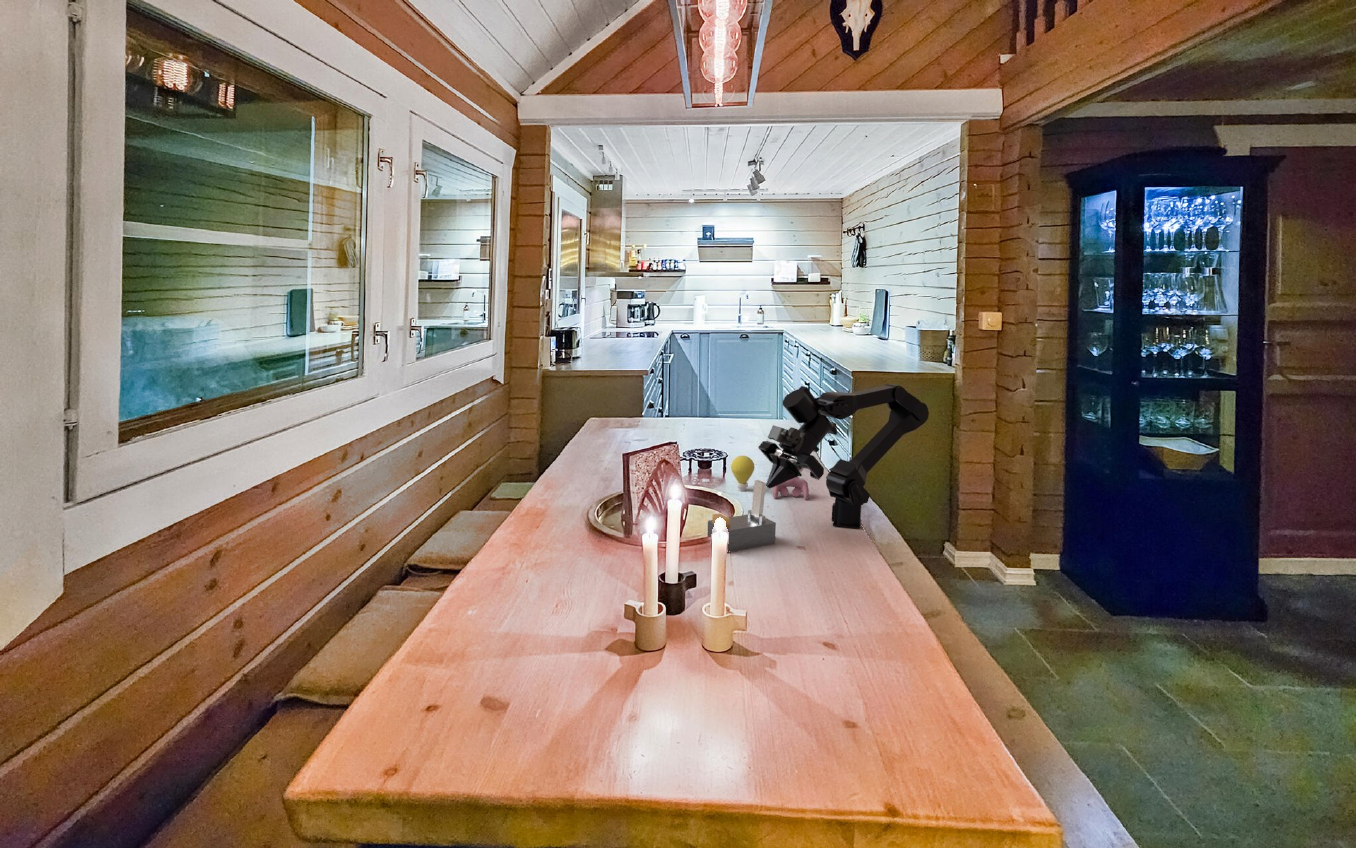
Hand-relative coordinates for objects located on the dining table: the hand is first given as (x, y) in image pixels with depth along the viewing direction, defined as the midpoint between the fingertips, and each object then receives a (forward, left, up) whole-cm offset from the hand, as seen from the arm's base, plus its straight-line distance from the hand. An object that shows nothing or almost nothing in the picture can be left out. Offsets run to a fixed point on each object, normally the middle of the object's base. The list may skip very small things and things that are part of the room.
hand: (767, 487), depth 168 cm
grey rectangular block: (+5, +5, -12) cm, 14 cm away
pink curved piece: (0, -36, -13) cm, 38 cm away
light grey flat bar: (+2, +2, -3) cm, 4 cm away
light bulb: (+14, -39, -13) cm, 43 cm away
